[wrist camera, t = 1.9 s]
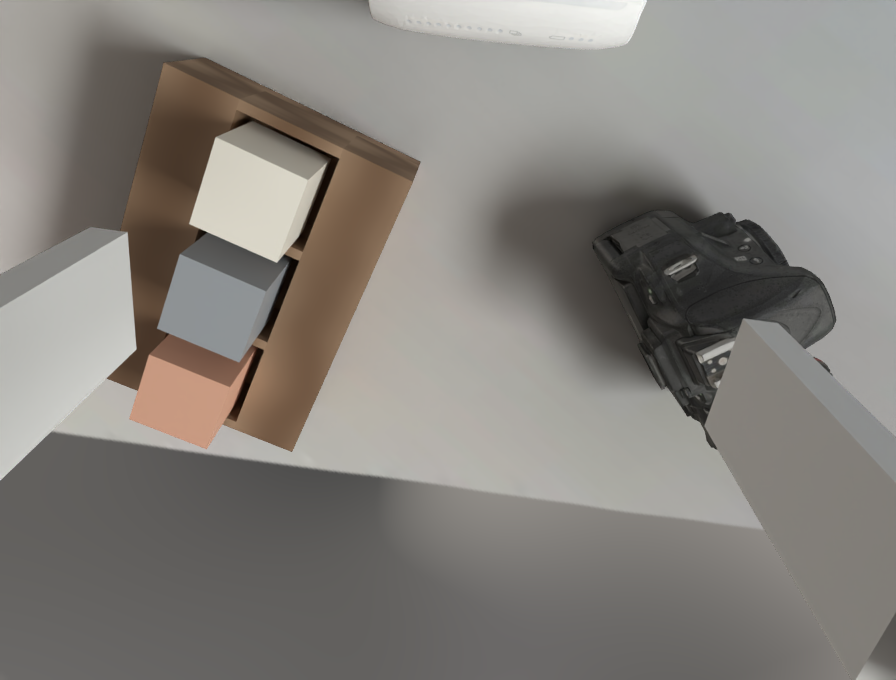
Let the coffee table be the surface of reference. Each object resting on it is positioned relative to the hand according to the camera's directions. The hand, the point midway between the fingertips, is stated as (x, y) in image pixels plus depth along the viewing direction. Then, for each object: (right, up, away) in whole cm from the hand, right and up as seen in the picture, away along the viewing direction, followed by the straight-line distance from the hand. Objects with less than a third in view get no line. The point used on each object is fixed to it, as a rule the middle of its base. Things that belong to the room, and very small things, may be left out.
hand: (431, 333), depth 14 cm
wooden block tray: (-10, +5, +24) cm, 26 cm away
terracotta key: (-13, -1, +23) cm, 26 cm away
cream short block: (-8, +8, +18) cm, 21 cm away
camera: (+14, +3, +24) cm, 28 cm away
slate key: (-10, +3, +20) cm, 23 cm away
